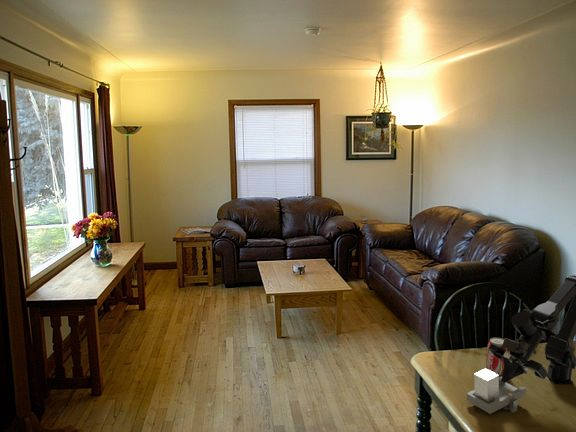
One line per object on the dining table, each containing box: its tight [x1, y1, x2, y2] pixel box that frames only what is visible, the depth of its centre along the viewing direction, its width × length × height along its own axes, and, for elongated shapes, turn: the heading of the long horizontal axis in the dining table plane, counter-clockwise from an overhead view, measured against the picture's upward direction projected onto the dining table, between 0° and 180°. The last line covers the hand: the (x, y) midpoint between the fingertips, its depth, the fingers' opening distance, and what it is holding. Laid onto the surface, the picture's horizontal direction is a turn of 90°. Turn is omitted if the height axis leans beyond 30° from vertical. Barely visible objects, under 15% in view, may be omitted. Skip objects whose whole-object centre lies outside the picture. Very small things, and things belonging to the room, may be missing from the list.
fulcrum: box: [501, 399, 519, 414], centre depth 163 cm, size 3×12×4 cm, turn 29°
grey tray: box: [466, 375, 526, 415], centre depth 162 cm, size 16×9×3 cm, turn 118°
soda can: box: [485, 337, 509, 376], centre depth 183 cm, size 7×7×12 cm
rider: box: [474, 367, 500, 404], centre depth 159 cm, size 5×5×9 cm
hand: (502, 381), depth 163 cm, fingers closed
